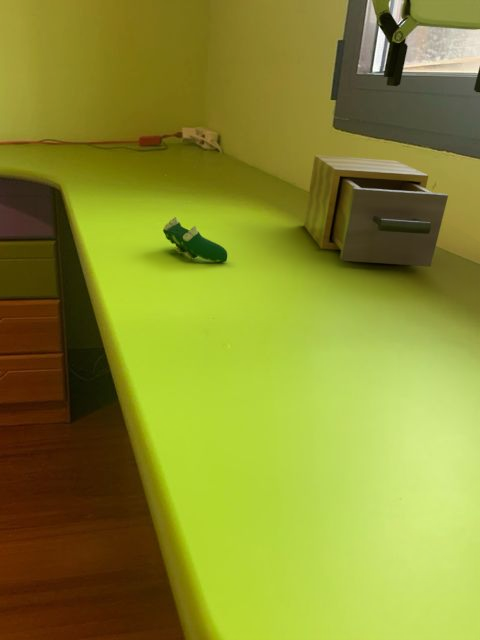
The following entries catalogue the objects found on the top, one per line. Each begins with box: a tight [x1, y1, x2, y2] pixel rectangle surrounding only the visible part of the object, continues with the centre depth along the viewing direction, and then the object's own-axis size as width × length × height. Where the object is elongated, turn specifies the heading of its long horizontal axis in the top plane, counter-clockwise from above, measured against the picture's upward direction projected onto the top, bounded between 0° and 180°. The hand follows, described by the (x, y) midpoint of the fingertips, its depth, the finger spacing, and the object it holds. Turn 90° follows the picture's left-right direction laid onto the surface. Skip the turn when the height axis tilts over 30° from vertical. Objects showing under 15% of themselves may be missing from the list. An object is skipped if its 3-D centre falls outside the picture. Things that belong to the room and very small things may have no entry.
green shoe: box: [162, 216, 228, 263], centre depth 89 cm, size 9×4×6 cm
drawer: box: [330, 176, 449, 267], centre depth 91 cm, size 19×12×9 cm, turn 178°
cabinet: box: [303, 154, 429, 251], centre depth 103 cm, size 16×13×11 cm
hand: (437, 89), depth 75 cm, fingers open, 9 cm apart
